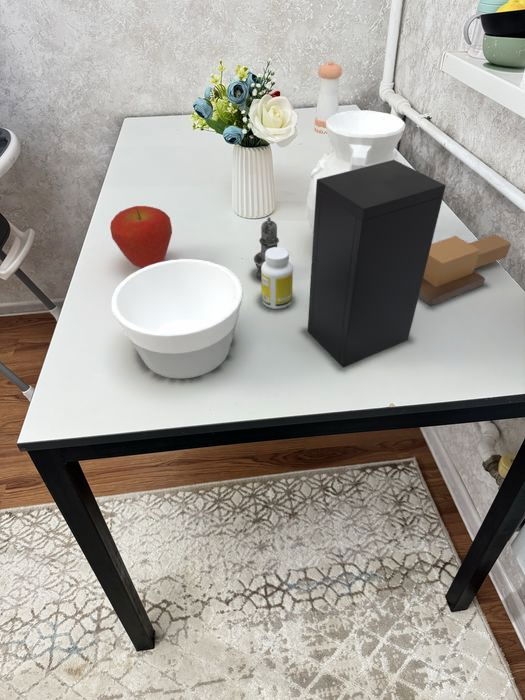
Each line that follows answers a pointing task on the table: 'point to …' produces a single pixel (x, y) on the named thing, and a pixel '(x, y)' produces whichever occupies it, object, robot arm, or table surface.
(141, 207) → the apple
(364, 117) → the pitcher
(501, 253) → the brown stepped block
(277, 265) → the supplement bottle
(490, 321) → the table surface
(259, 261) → the dark grey tall piece
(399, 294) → the tall black box
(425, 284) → the board
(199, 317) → the bowl
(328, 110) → the salt shaker
